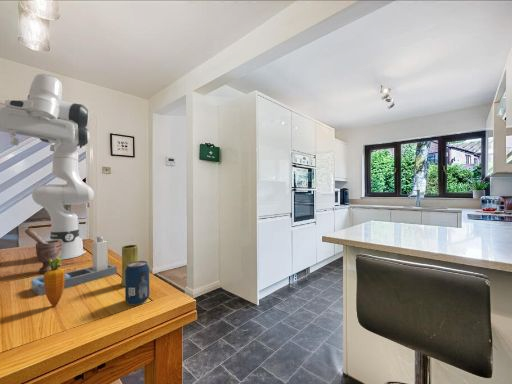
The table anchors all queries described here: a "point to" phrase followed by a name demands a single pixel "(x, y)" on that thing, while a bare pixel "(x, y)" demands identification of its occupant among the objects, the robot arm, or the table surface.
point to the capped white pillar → (100, 254)
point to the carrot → (54, 282)
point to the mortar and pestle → (45, 250)
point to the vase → (128, 258)
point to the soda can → (137, 282)
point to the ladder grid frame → (75, 278)
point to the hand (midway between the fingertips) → (34, 147)
